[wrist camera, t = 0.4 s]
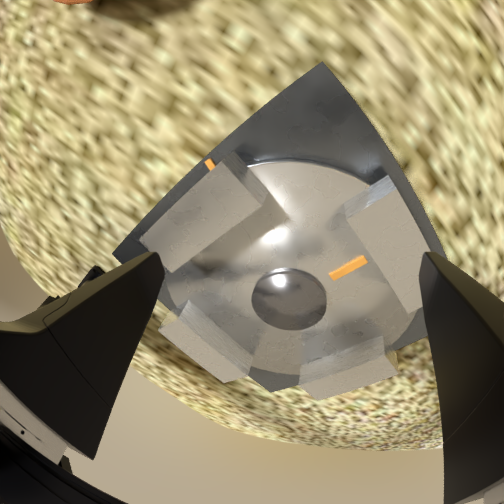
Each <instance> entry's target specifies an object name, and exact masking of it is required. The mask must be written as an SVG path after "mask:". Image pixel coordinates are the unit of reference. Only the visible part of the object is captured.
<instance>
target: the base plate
mask: <svg viewBox="0 0 504 504" xmlns="http://www.w3.org/2000/svg"><path fill="white" fill-rule="evenodd" d="M233 151H234V152H235V153H236V154H237V155H238V156H239V157H240V158H241V159H242V161H243V162H244V163H245V164H246V165H247V164H251V163H256V162H261V161H266V160H279V159H296V160H308V161H315V162H319V163H323V164H328V165H332V166H335V167H338V168H340V169H343V170H345V171H348V172H351V173H353V174H355V175H357V176H358V177H360V178H362V179H364V180H366V181H367V182H369V183H371V184H372V185H373V184H374V183H376V182H377V181H379V180H381V179H382V178H384V177H385V176H387V175H389V177H390V179H391V180H392V182H393V184H394V185H395V187H396V188H397V190H398V192H399V193H400V195H401V197H402V199H403V200H404V202H405V204H406V206H407V207H408V209H409V211H410V213H411V214H412V216H413V218H414V220H415V222H416V224H417V225H418V227H419V229H420V231H421V233H422V235H423V237H424V239H425V241H426V243H427V245H428V247H429V249H430V251H431V252H437V253H438V254H440V255H441V256H443V257H444V258H445V259H447V257H446V255H445V253H444V251H443V248H442V246H441V244H440V242H439V240H438V237H437V235H436V233H435V231H434V229H433V227H432V225H431V223H430V221H429V219H428V217H427V215H426V213H425V211H424V209H423V207H422V205H421V203H420V202H419V200H418V198H417V196H416V194H415V192H414V191H413V189H412V187H411V185H410V184H409V182H408V180H407V178H406V177H405V175H404V173H403V172H402V170H401V168H400V167H399V165H398V163H397V162H396V160H395V158H394V157H393V155H392V154H391V152H390V151H389V149H388V147H387V146H386V144H385V143H384V141H383V140H382V138H381V137H380V135H379V134H378V132H377V131H376V130H375V128H374V127H373V125H372V124H371V122H370V121H369V120H368V118H367V117H366V115H365V114H364V113H363V111H362V110H361V109H360V107H359V106H358V105H357V103H356V102H355V101H354V99H353V98H352V97H351V95H350V94H349V93H348V92H347V90H346V89H345V88H344V87H343V85H342V84H341V83H340V82H339V80H338V79H337V78H336V77H335V76H334V74H333V73H332V72H331V71H330V70H329V69H328V67H327V66H326V65H325V64H324V63H323V62H321V63H319V64H318V65H317V66H315V67H314V68H312V69H311V70H310V71H308V72H307V73H306V74H304V75H303V76H301V77H300V78H299V79H297V80H296V81H295V82H293V83H292V84H291V85H290V86H288V87H287V88H286V89H284V90H283V91H282V92H281V93H279V94H278V95H277V96H275V97H274V98H273V99H272V100H270V101H269V102H268V103H267V104H265V105H264V106H263V107H262V108H261V109H259V110H258V111H257V112H256V113H254V114H253V115H252V116H251V117H250V118H248V119H247V120H246V121H245V122H244V123H243V124H241V125H240V126H239V127H238V128H237V129H236V130H234V131H233V132H232V133H231V134H230V135H229V136H228V137H227V138H225V139H224V140H223V141H222V142H221V143H220V144H219V145H218V146H216V147H215V148H214V149H213V150H212V151H211V152H210V153H209V154H208V155H207V156H206V157H204V158H203V159H202V160H201V161H200V162H199V163H198V164H197V165H196V166H195V167H194V168H193V169H192V170H191V171H190V172H189V173H188V174H187V175H186V176H184V177H183V178H182V179H181V180H180V181H179V182H178V183H177V184H176V185H175V186H174V187H173V188H172V189H171V190H170V191H169V192H168V193H167V194H166V195H165V196H164V197H163V198H162V199H161V201H160V202H159V203H158V204H157V205H156V206H155V207H154V208H153V209H152V210H151V211H150V212H149V213H148V214H147V215H146V216H145V217H144V218H143V219H142V220H141V222H140V223H139V224H138V225H137V226H136V227H135V228H134V229H133V230H132V231H131V232H130V234H129V235H128V236H127V237H126V238H125V239H124V240H123V241H122V243H121V244H120V245H119V246H118V247H117V248H116V249H115V251H114V252H113V253H112V254H113V256H114V257H115V258H116V259H117V260H118V261H119V262H120V263H121V264H124V263H126V262H128V261H130V260H132V259H134V258H136V257H138V256H140V255H142V254H144V253H146V252H150V251H149V250H148V249H147V248H146V247H145V246H144V245H143V244H142V243H141V242H140V241H139V239H140V238H141V237H142V236H143V235H144V234H145V233H146V232H147V231H148V230H149V229H150V228H151V227H152V226H153V225H154V224H155V223H156V222H157V221H158V220H159V219H160V218H161V217H162V216H163V215H164V214H165V213H166V212H167V211H168V210H169V209H170V208H171V207H172V206H173V205H174V204H175V203H176V202H177V201H178V200H179V199H180V198H181V197H182V196H184V195H185V194H186V193H187V192H188V191H189V190H190V189H191V188H192V187H193V186H194V185H195V184H196V183H198V182H199V181H200V180H201V179H202V178H203V177H204V176H205V175H206V174H207V173H209V172H210V171H211V170H212V169H213V168H214V167H215V166H216V165H218V164H219V163H220V162H221V161H222V160H223V159H224V158H226V157H227V156H228V155H229V154H230V153H231V152H233ZM163 267H164V265H163ZM157 299H158V300H159V301H161V302H162V303H163V304H164V305H165V306H166V307H167V308H168V309H169V310H170V311H171V310H173V309H175V308H176V306H175V304H174V302H173V300H172V298H171V295H170V293H169V290H168V287H167V283H166V279H165V277H164V280H163V283H162V286H161V289H160V292H159V295H158V298H157ZM426 336H428V334H427V329H426V325H425V320H424V313H423V307H421V308H419V309H418V310H417V312H416V314H415V316H414V318H413V320H412V321H411V323H410V324H409V326H408V328H407V329H406V330H405V331H404V333H403V334H402V335H401V336H400V337H399V338H398V339H397V340H396V341H395V342H394V343H393V344H392V345H391V346H392V348H393V349H394V350H397V349H400V348H402V347H404V346H407V345H409V344H411V343H413V342H416V341H418V340H420V339H422V338H424V337H426ZM248 376H249V377H251V378H252V379H253V380H255V381H256V382H257V383H259V384H260V385H261V386H263V387H264V388H265V389H267V390H268V391H269V392H274V391H278V390H282V389H285V388H289V387H293V386H296V385H299V378H300V375H291V374H282V373H275V372H271V371H266V370H262V369H259V368H256V367H252V366H251V367H250V371H249V374H248Z"/></svg>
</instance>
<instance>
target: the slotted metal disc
mask: <svg viewBox="0 0 504 504" xmlns="http://www.w3.org/2000/svg"><path fill="white" fill-rule="evenodd" d="M139 241H140V242H141V243H142V244H143V245H144V246H145V247H146V248H147V249H148V250H149V251H150V252H157V253H158V254H159V255H160V258H161V261H162V264H163V265H164V270H165V279H166V283H167V287H168V290H169V293H170V295H171V298H172V300H173V302H174V304H175V306H176V308H175V309H173V310H171V311H170V312H168V313H167V315H166V317H165V319H164V320H163V322H162V324H161V325H160V327H159V329H158V331H159V332H160V333H161V334H162V335H164V336H165V337H166V338H167V339H168V340H169V341H171V342H172V343H173V344H174V345H175V346H177V347H178V348H179V349H180V350H182V351H183V352H184V353H185V354H186V355H188V356H189V357H190V358H191V359H193V360H194V361H195V362H197V363H198V364H199V365H200V366H202V367H203V368H204V369H206V370H207V371H208V372H210V373H211V374H212V375H214V376H215V377H216V378H218V379H219V380H220V381H222V382H223V383H226V382H230V381H233V380H237V379H240V378H244V377H247V376H248V374H249V371H250V367H251V366H252V367H256V368H259V369H262V370H266V371H271V372H275V373H282V374H291V375H300V378H299V385H298V386H300V387H301V388H302V389H304V390H305V391H306V392H307V393H309V394H310V395H311V396H312V397H314V398H315V399H316V400H321V399H325V398H329V397H332V396H336V395H339V394H342V393H346V392H349V391H352V390H355V389H358V388H361V387H364V386H367V385H370V384H373V383H376V382H379V381H382V380H384V379H387V378H390V377H392V376H395V375H398V374H399V370H398V361H397V353H396V352H395V350H394V349H393V348H392V346H391V345H392V344H393V343H394V342H395V341H396V340H397V339H398V338H399V337H400V336H401V335H402V334H403V333H404V331H405V330H406V329H407V328H408V326H409V324H410V323H411V321H412V320H413V318H414V316H415V314H416V312H417V310H418V309H419V308H421V307H423V305H422V298H421V291H420V285H419V271H420V266H421V261H422V256H423V253H424V252H431V251H430V249H429V247H428V245H427V243H426V241H425V239H424V237H423V235H422V233H421V231H420V229H419V227H418V225H417V224H416V222H415V220H414V218H413V216H412V214H411V213H410V211H409V209H408V207H407V206H406V204H405V202H404V200H403V199H402V197H401V195H400V193H399V192H398V190H397V188H396V187H395V185H394V184H393V182H392V180H391V179H390V177H389V175H387V176H385V177H384V178H382V179H381V180H379V181H377V182H376V183H374V184H373V185H372V184H371V183H369V182H367V181H366V180H364V179H362V178H360V177H358V176H357V175H355V174H353V173H351V172H348V171H345V170H343V169H340V168H338V167H335V166H332V165H328V164H323V163H319V162H315V161H308V160H296V159H279V160H266V161H261V162H256V163H251V164H247V165H246V164H245V163H244V162H243V161H242V159H241V158H240V157H239V156H238V155H237V154H236V153H235V152H234V151H233V152H231V153H230V154H229V155H228V156H227V157H226V158H224V159H223V160H222V161H221V162H220V163H219V164H218V165H216V166H215V167H214V168H213V169H212V170H211V171H210V172H209V173H207V174H206V175H205V176H204V177H203V178H202V179H201V180H200V181H199V182H198V183H196V184H195V185H194V186H193V187H192V188H191V189H190V190H189V191H188V192H187V193H186V194H185V195H184V196H182V197H181V198H180V199H179V200H178V201H177V202H176V203H175V204H174V205H173V206H172V207H171V208H170V209H169V210H168V211H167V212H166V213H165V214H164V215H163V216H162V217H161V218H160V219H159V220H158V221H157V222H156V223H155V224H154V225H153V226H152V227H151V228H150V229H149V230H148V231H147V232H146V233H145V234H144V235H143V236H142V237H141V238H140V239H139Z"/></svg>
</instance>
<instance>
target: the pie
mask: <svg viewBox="0 0 504 504" xmlns="http://www.w3.org/2000/svg"><path fill="white" fill-rule="evenodd" d="M53 1H55V2H59V3H63V4H67V5H71V4H81V3H89V2H91V1H93V0H53Z"/></svg>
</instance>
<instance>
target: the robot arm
mask: <svg viewBox="0 0 504 504" xmlns="http://www.w3.org/2000/svg"><path fill="white" fill-rule="evenodd" d="M164 277H165V270H164V267H163V264H162V261H161V258H160V255H159V254H158V253H157V252H146V253H144V254H142V255H140V256H138V257H136V258H134V259H132V260H130V261H128V262H126V263H124V264H122V265H120V266H118V267H117V268H115V269H113V270H111V271H109V272H107V273H105V274H104V273H103V272H102V271H101V270H100V269H99V268H98V267H97V266H93V267H92V269H91V270H90V271H89V272H88V274H87V275H86V276H85V278H84V279H83V280H82V282H81V283H80V284H79V286H78V288H77V289H75V290H74V291H72V292H70V293H68V294H66V295H65V296H63V297H61V298H60V297H59V295H58V296H57V297H56V298H54V297H51V296H49V297H48V298H47V299H46V300H45V301H44V302H43V304H42V305H41V306H40V307H39V308H38V309H37V310H36V311H34V312H32V313H30V314H28V315H26V316H24V317H22V318H20V319H18V320H15V321H12V322H1V321H0V504H128V503H125V502H123V501H121V500H119V499H117V498H115V497H113V496H111V495H109V494H107V493H105V492H103V491H101V490H99V489H97V488H96V487H94V486H92V485H90V484H88V483H87V482H85V481H83V480H81V479H80V478H78V477H76V476H75V475H73V474H72V470H71V466H70V462H69V458H67V457H66V456H64V455H63V454H64V452H65V450H66V448H67V447H69V448H71V449H73V450H75V451H76V452H78V453H80V454H82V455H84V456H85V457H87V458H89V459H91V460H94V458H95V455H96V453H97V450H98V447H99V444H100V441H101V438H102V435H103V433H104V430H105V427H106V424H107V422H108V419H109V416H110V413H111V410H112V408H113V405H114V402H115V400H116V397H117V395H118V392H119V390H120V387H121V385H122V382H123V380H124V377H125V375H126V372H127V370H128V367H129V365H130V363H131V360H132V358H133V355H134V353H135V351H136V348H137V346H138V344H139V341H140V339H141V337H142V335H143V332H144V330H145V328H146V325H147V323H148V321H149V319H150V317H151V314H152V312H153V309H154V307H155V304H156V301H157V298H158V295H159V292H160V289H161V286H162V283H163V280H164ZM419 285H420V291H421V298H422V305H423V313H424V320H425V325H426V329H427V334H428V339H429V343H430V348H431V353H432V359H433V364H434V370H435V376H436V382H437V389H438V396H439V404H440V413H441V423H442V435H443V452H444V453H443V454H444V504H464V503H467V502H470V501H474V500H477V499H481V498H484V504H504V302H502V301H501V300H500V299H499V298H498V297H496V296H495V295H494V294H493V293H491V292H490V291H489V290H487V289H486V288H485V287H484V286H482V285H481V284H480V283H478V282H477V281H476V280H474V279H473V278H472V277H470V276H469V275H468V274H466V273H465V272H464V271H462V270H461V269H460V268H458V267H457V266H455V265H454V264H453V263H451V262H450V261H448V260H447V259H445V258H444V257H443V256H441V255H440V254H438V253H437V252H424V253H423V256H422V261H421V266H420V271H419Z"/></svg>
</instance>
